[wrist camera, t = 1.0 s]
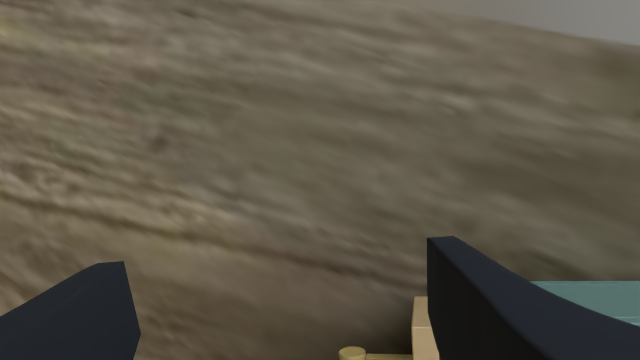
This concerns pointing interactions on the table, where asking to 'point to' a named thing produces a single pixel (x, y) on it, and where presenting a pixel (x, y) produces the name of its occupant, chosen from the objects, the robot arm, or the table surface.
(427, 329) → the drawer
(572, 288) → the cabinet
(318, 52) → the table surface
